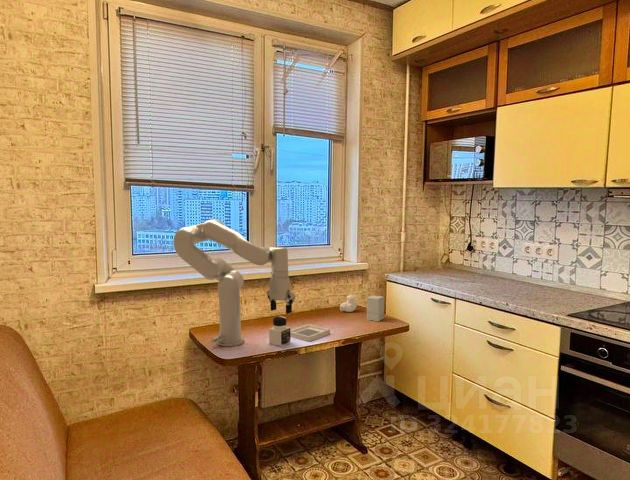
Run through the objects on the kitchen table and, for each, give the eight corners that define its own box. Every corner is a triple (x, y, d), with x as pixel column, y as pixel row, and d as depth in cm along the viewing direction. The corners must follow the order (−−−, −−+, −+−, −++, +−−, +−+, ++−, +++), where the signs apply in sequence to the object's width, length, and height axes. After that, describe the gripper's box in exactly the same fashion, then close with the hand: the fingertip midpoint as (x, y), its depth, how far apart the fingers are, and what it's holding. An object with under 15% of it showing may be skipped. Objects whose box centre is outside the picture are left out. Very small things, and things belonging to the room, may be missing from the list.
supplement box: (384, 318, 241) (384, 296, 240) (378, 321, 234) (379, 298, 233) (372, 317, 245) (372, 294, 244) (366, 319, 238) (366, 297, 237)
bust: (340, 316, 254) (347, 303, 247) (335, 306, 259) (341, 294, 252) (357, 313, 260) (364, 301, 253) (351, 304, 265) (358, 291, 258)
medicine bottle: (281, 346, 194) (281, 320, 193) (268, 343, 198) (268, 318, 197) (290, 342, 200) (290, 316, 199) (278, 339, 204) (278, 314, 203)
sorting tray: (308, 341, 201) (308, 337, 201) (286, 335, 210) (286, 331, 209) (330, 333, 213) (330, 329, 213) (308, 328, 222) (308, 324, 222)
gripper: (260, 273, 199) (261, 310, 200) (288, 277, 188) (289, 316, 189) (272, 271, 204) (273, 307, 206) (299, 274, 193) (300, 312, 195)
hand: (281, 311), depth 198 cm, fingers open, 9 cm apart
